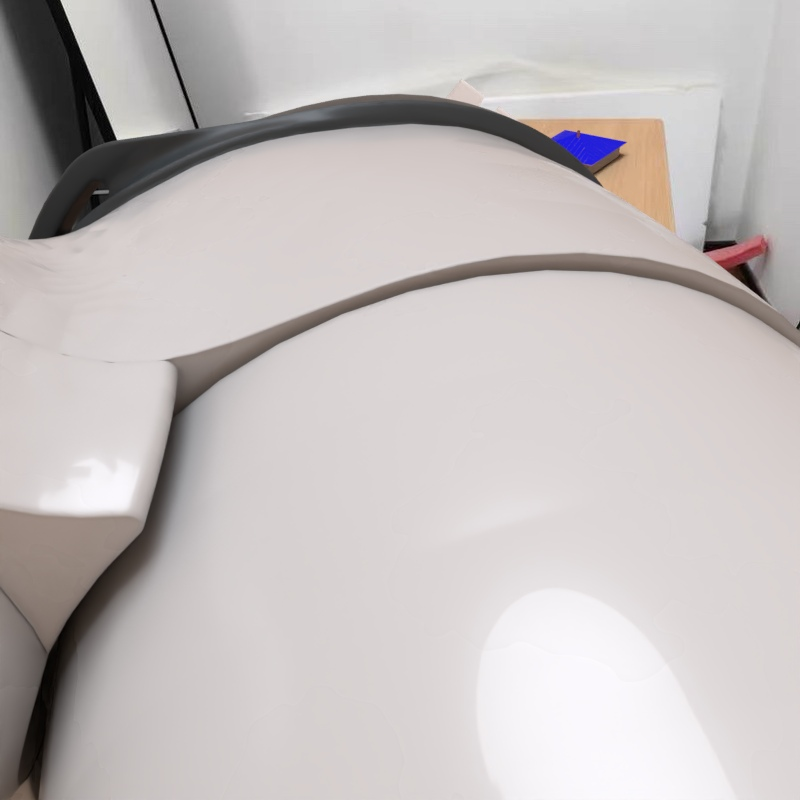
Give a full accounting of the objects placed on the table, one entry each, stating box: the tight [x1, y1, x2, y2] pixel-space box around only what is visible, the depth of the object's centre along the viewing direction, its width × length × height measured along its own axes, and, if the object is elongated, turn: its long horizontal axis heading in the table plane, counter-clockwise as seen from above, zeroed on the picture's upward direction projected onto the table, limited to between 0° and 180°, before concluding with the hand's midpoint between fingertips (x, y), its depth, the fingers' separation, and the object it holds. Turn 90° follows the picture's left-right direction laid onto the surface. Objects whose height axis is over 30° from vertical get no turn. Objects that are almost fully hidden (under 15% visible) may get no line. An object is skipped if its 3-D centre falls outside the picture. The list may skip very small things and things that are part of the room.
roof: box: [550, 129, 628, 175], centre depth 131 cm, size 12×12×5 cm
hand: (686, 631), depth 51 cm, fingers open, 8 cm apart
